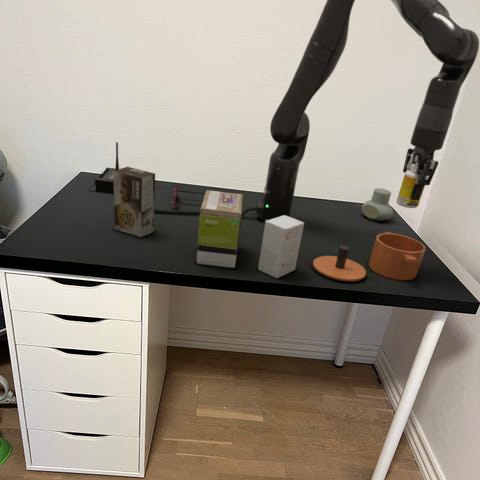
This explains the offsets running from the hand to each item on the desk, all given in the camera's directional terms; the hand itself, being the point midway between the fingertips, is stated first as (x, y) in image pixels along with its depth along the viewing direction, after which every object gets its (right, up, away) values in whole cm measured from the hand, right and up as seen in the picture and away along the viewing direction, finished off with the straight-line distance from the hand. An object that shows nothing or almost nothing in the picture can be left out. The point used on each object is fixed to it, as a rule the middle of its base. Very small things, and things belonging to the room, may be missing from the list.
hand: (409, 195), depth 121 cm
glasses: (-57, +5, +34) cm, 67 cm away
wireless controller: (-86, +13, +39) cm, 95 cm away
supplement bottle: (0, -2, +1) cm, 3 cm away
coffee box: (-73, -7, +10) cm, 74 cm away
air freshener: (+5, +4, +48) cm, 48 cm away
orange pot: (-1, -18, +10) cm, 20 cm away
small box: (-34, -19, 0) cm, 39 cm away
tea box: (-49, -15, +3) cm, 52 cm away
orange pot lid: (-17, -18, +4) cm, 26 cm away
